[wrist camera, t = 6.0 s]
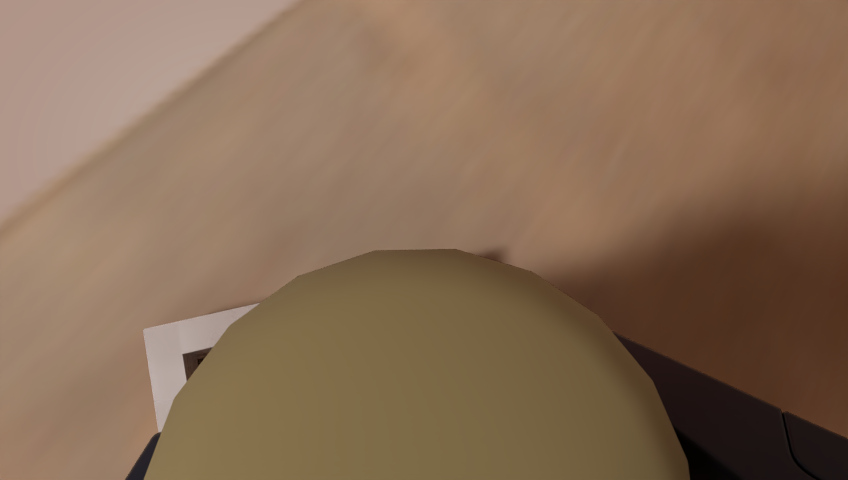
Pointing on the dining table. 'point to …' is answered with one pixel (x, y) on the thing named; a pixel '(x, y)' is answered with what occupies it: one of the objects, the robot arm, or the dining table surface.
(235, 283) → the dining table surface
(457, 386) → the cork
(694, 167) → the dining table surface
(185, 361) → the grey divided tray
